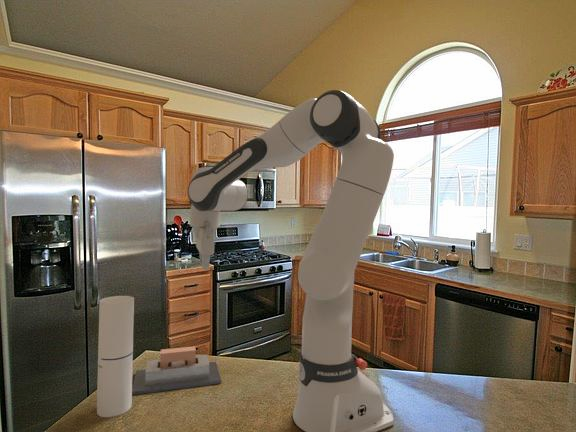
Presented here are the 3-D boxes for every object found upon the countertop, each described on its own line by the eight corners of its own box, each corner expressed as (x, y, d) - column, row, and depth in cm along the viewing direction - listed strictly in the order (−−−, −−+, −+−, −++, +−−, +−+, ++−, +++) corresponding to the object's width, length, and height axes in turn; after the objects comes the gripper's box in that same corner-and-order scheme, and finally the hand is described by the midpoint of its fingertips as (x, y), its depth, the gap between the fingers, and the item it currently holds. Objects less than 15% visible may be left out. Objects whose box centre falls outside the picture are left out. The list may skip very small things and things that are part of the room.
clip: (194, 371, 96) (195, 346, 96) (195, 375, 93) (195, 350, 93) (160, 375, 93) (160, 349, 93) (159, 380, 90) (160, 353, 90)
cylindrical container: (117, 419, 74) (120, 304, 74) (89, 414, 76) (91, 302, 76) (138, 402, 81) (140, 297, 81) (111, 398, 83) (114, 294, 83)
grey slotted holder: (216, 364, 103) (216, 350, 103) (221, 383, 91) (221, 367, 91) (136, 373, 96) (136, 358, 96) (131, 395, 84) (131, 377, 84)
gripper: (220, 222, 94) (219, 272, 94) (212, 220, 114) (211, 262, 114) (196, 221, 92) (195, 272, 92) (192, 220, 112) (191, 262, 112)
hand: (204, 266), depth 103 cm, fingers open, 8 cm apart
